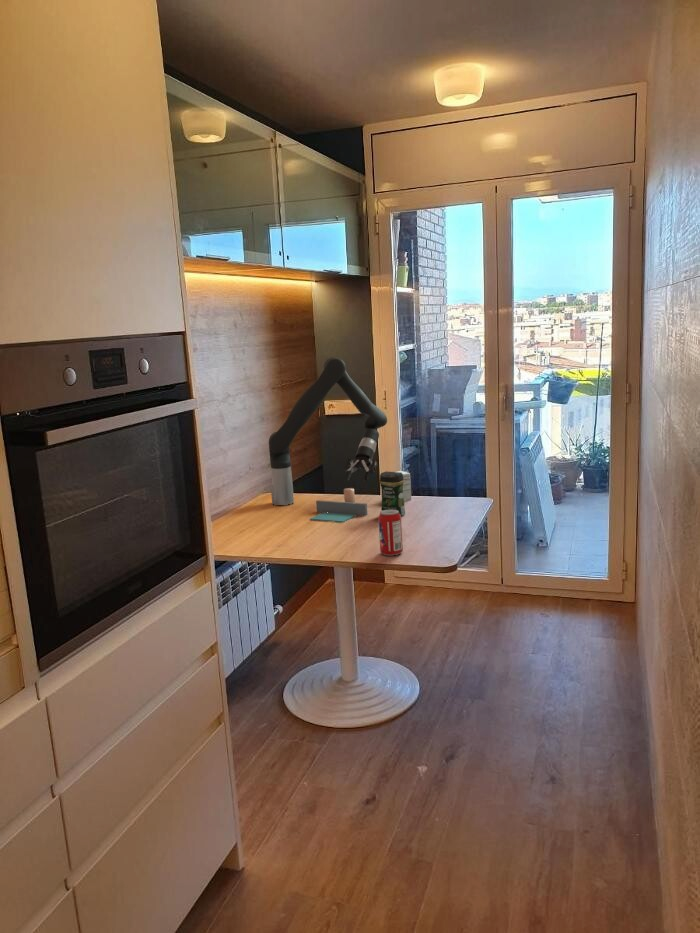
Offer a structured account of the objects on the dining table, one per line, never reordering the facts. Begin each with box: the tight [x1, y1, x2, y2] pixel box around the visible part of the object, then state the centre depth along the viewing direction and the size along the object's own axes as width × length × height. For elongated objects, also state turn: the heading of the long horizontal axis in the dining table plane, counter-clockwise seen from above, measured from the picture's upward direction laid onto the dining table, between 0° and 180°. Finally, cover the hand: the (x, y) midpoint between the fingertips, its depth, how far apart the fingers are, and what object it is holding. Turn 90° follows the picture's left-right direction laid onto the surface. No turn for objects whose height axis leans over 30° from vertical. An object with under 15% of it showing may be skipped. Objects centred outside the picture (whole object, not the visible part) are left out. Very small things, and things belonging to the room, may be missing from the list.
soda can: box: [377, 509, 404, 557], centre depth 252 cm, size 8×8×15 cm
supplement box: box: [396, 470, 412, 502], centre depth 329 cm, size 7×7×13 cm
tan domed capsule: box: [343, 487, 356, 503], centre depth 319 cm, size 4×4×9 cm
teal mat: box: [309, 512, 357, 523], centre depth 307 cm, size 16×11×1 cm
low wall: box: [315, 499, 368, 517], centre depth 313 cm, size 24×2×5 cm, turn 61°
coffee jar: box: [379, 470, 406, 518], centre depth 302 cm, size 10×8×19 cm
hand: (356, 480), depth 323 cm, fingers open, 8 cm apart
